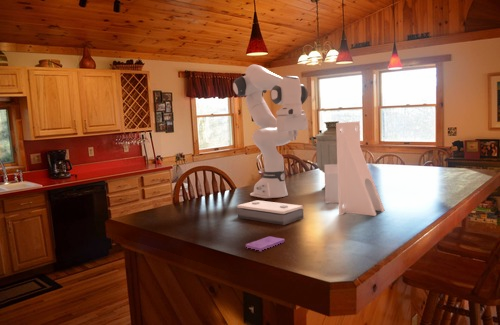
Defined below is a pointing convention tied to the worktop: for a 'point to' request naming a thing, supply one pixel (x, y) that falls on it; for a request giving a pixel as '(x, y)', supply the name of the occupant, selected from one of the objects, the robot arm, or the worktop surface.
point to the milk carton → (331, 183)
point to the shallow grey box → (270, 216)
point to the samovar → (326, 146)
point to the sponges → (265, 243)
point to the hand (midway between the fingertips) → (293, 140)
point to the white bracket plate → (354, 174)
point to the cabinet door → (270, 206)
